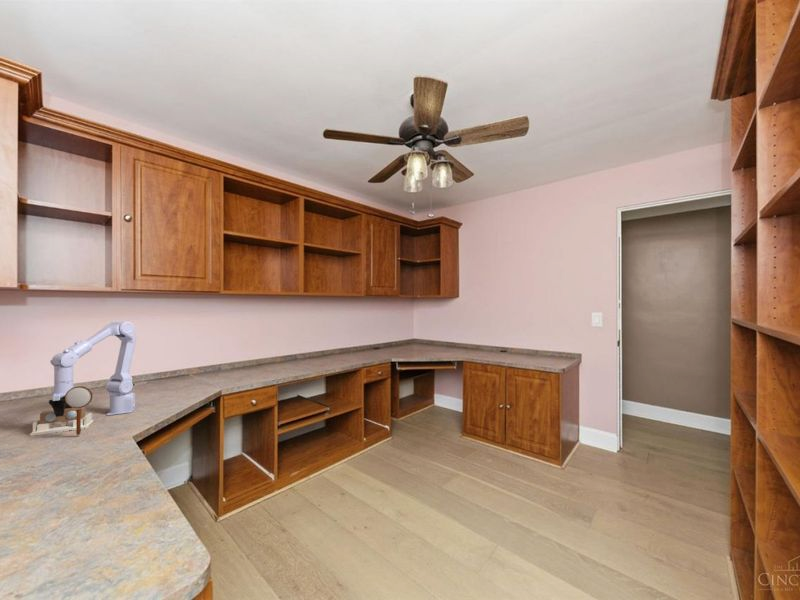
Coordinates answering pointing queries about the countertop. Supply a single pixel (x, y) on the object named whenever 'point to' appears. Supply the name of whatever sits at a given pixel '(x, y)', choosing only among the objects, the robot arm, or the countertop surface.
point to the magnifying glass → (78, 402)
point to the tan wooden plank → (68, 416)
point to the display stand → (59, 426)
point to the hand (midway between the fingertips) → (63, 413)
